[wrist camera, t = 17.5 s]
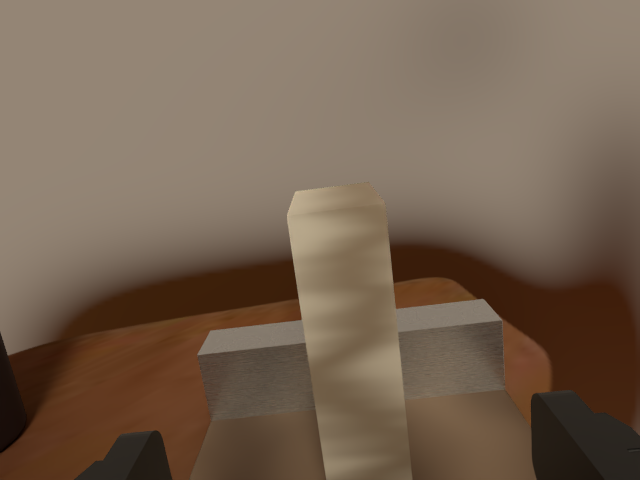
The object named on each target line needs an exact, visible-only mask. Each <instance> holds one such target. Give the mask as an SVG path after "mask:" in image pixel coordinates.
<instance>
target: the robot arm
mask: <svg viewBox="0 0 640 480" xmlns="http://www.w3.org/2000/svg"><path fill="white" fill-rule="evenodd" d="M531 440H532V463H533V468H534V472H535V475H536V479H537V480H640V436H639V435H638V434H637V433H636V432H635V431H634V430H633V429H632V428H631V427H629V426H628V425H626V424H624V423H622V422H621V421H619V420H617V419H615V418H614V417H612V416H610V415H608V414H607V413H595V414H594V413H593V412H592V411H591V410H590V408H588V406H587V405H586V404H585V403H584V402H583V401H582V400H581V399H580V397H579V396H578V395H577V394H576V393H575V392H573V391H572V390H567V391H556V392H546V393H536V394H533V396H532V399H531ZM74 480H172V477H171V473H170V469H169V464H168V460H167V456H166V452H165V447H164V443H163V439H162V436H161V434H160V433H159V432H158V431H157V430H156V431H146V432H136V433H126V434H121V435H120V436H119V437H118V438H117V440H116V441H115V443H114V445H113V446H112V448H111V449H110V451H109V452H108V454H107V455H106V457H105V458H104V460H103V461H95V462H94V463H93V464H92V465H91V466H90V467H88V468H87V469H86V470H85V471H84V472H82V473H81V474H80V475H79V476H78V477H77V478H75V479H74Z"/></svg>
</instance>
